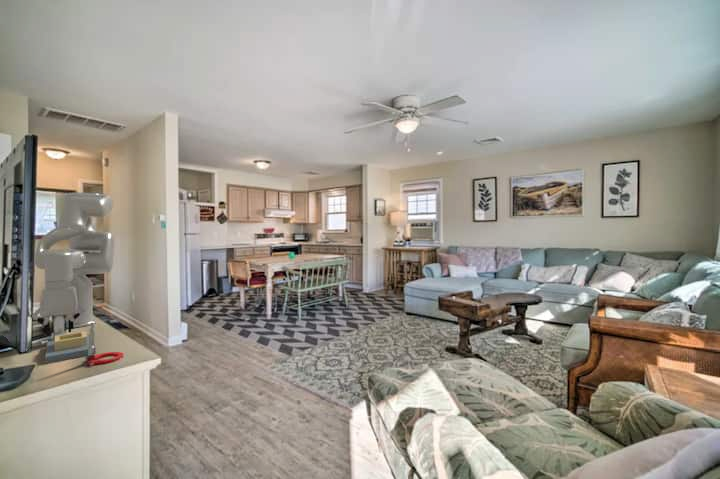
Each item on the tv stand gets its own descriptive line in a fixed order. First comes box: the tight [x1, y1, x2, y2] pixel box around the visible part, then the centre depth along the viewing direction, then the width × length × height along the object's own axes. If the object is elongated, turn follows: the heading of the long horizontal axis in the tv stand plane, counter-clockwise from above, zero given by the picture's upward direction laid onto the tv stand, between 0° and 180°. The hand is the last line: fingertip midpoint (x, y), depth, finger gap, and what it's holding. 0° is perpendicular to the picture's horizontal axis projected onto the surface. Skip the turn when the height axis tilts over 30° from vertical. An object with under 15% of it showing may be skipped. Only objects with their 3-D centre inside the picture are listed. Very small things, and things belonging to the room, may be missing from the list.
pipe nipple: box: [51, 315, 68, 341], centre depth 116 cm, size 4×4×10 cm
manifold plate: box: [44, 330, 96, 364], centre depth 108 cm, size 18×12×5 cm, turn 44°
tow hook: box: [85, 322, 124, 367], centre depth 101 cm, size 8×13×9 cm
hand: (59, 332), depth 116 cm, fingers open, 5 cm apart
